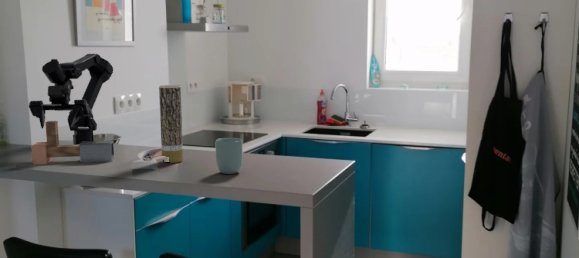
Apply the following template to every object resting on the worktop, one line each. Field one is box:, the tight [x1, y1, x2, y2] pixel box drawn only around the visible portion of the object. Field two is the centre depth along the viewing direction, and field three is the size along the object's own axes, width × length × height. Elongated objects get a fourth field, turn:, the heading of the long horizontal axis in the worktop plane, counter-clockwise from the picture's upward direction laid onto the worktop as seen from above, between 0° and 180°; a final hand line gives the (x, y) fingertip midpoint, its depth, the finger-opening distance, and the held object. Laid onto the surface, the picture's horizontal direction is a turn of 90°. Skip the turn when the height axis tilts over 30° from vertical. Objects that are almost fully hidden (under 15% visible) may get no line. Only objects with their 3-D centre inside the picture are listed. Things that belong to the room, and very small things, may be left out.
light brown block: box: [30, 141, 53, 166], centre depth 192 cm, size 4×7×6 cm, turn 7°
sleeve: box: [79, 140, 115, 163], centre depth 194 cm, size 10×5×6 cm, turn 98°
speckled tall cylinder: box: [158, 84, 184, 164], centre depth 190 cm, size 7×7×25 cm
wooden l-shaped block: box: [44, 120, 80, 158], centre depth 192 cm, size 16×3×12 cm, turn 98°
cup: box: [214, 137, 244, 175], centre depth 173 cm, size 8×8×10 cm
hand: (56, 127), depth 196 cm, fingers open, 9 cm apart
